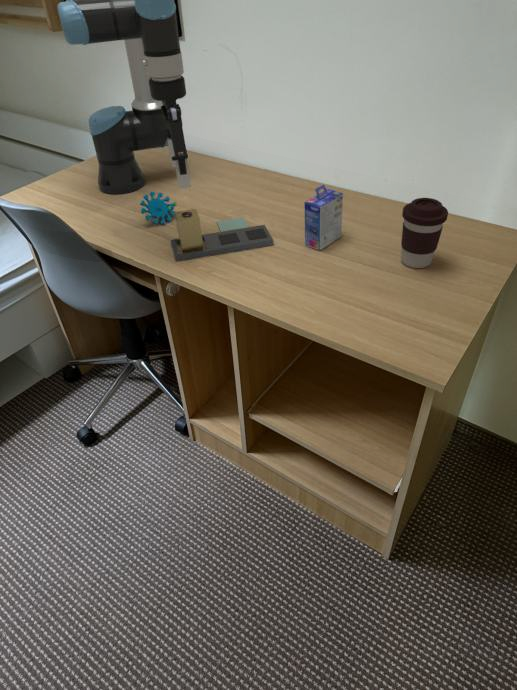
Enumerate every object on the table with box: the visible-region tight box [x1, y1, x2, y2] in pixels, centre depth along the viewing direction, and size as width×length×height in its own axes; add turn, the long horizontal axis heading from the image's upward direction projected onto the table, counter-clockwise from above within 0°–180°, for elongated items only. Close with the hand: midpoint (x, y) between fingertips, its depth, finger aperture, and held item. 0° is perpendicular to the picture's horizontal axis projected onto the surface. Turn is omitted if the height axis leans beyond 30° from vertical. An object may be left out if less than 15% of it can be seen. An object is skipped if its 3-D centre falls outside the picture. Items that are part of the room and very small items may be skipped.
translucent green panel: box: [216, 216, 249, 232], centre depth 139 cm, size 8×8×1 cm
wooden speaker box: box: [174, 208, 205, 254], centre depth 127 cm, size 6×6×10 cm
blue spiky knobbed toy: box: [139, 191, 178, 226], centre depth 144 cm, size 11×6×10 cm
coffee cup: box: [400, 197, 449, 269], centre depth 117 cm, size 10×10×15 cm
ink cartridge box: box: [304, 184, 344, 251], centre depth 126 cm, size 10×6×14 cm, turn 138°
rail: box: [170, 224, 274, 262], centre depth 131 cm, size 9×26×2 cm, turn 104°
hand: (181, 176), depth 117 cm, fingers open, 13 cm apart
